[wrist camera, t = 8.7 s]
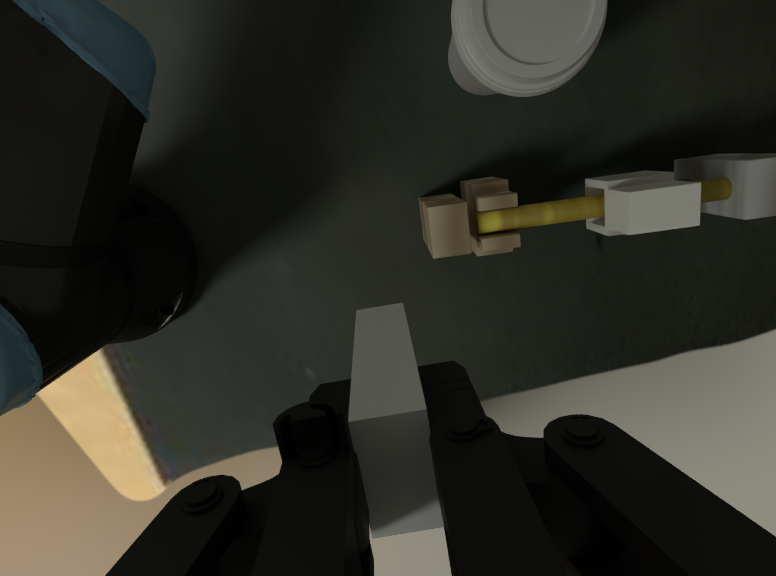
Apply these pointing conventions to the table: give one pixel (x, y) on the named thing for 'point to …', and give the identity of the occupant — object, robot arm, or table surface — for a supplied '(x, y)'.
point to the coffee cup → (522, 43)
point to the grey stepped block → (644, 202)
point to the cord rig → (586, 204)
